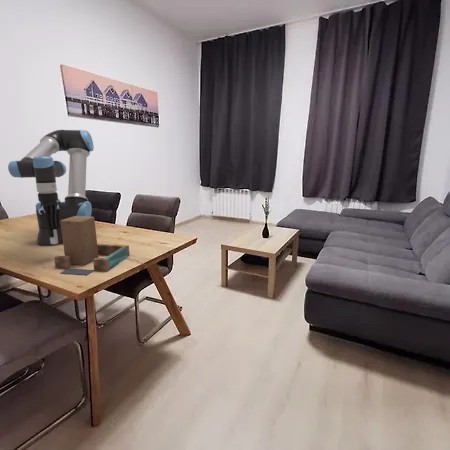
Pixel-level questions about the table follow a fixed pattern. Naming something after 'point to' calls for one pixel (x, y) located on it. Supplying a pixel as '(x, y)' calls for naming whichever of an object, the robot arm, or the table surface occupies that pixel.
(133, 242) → the table surface
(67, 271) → the mat
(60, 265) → the brown u-shaped piece
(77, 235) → the wooden block
